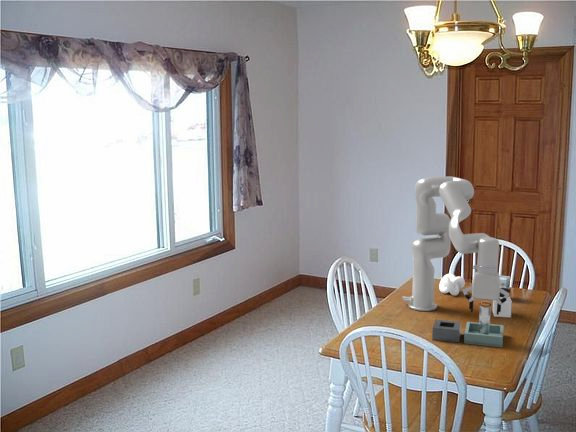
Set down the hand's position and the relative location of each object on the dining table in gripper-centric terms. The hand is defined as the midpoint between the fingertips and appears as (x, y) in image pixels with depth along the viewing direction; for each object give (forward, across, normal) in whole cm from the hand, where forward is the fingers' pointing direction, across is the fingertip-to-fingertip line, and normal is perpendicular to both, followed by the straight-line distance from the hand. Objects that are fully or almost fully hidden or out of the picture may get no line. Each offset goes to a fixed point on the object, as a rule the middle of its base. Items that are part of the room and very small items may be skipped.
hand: (484, 312), depth 255 cm
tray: (+11, 0, 0) cm, 11 cm away
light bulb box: (+12, +3, +57) cm, 58 cm away
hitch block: (+11, -14, -2) cm, 18 cm away
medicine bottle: (+11, +6, +33) cm, 35 cm away
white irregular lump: (+12, -17, +59) cm, 62 cm away
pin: (+10, 0, 0) cm, 10 cm away
